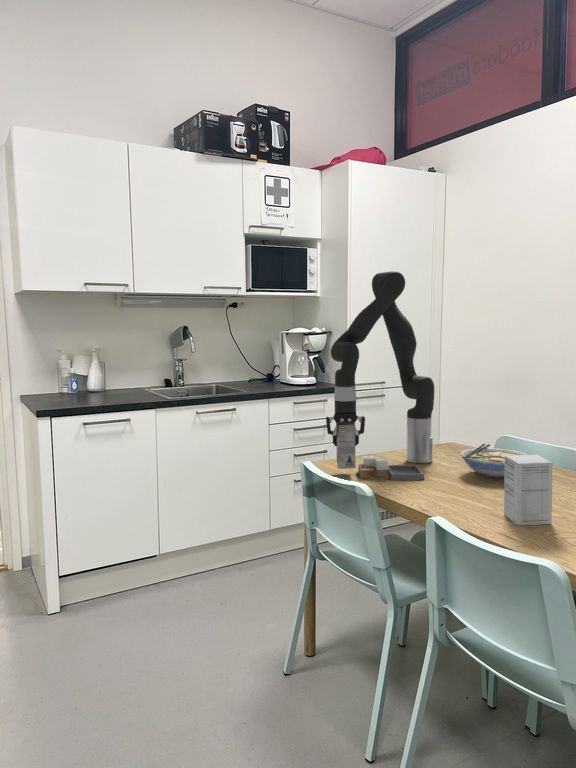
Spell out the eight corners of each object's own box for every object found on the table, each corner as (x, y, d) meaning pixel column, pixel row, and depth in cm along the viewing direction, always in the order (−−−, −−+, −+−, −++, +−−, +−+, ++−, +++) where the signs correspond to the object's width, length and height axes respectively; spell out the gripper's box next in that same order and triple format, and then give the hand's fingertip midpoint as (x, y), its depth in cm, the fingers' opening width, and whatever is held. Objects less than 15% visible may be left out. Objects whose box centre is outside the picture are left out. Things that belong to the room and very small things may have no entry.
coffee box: (336, 462, 208) (335, 419, 206) (353, 462, 207) (353, 418, 206) (337, 469, 198) (337, 423, 197) (356, 468, 198) (355, 423, 197)
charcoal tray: (416, 470, 209) (416, 464, 208) (424, 479, 196) (424, 474, 195) (386, 470, 209) (386, 465, 209) (391, 480, 196) (391, 474, 196)
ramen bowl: (517, 488, 183) (518, 463, 183) (449, 478, 197) (449, 455, 196) (537, 472, 203) (538, 449, 202) (474, 463, 217) (474, 442, 216)
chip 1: (373, 464, 207) (373, 455, 206) (374, 466, 203) (374, 458, 202) (362, 464, 207) (362, 456, 206) (363, 466, 203) (363, 458, 202)
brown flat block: (386, 471, 207) (386, 463, 207) (389, 478, 198) (389, 470, 198) (358, 472, 207) (358, 464, 207) (360, 478, 198) (360, 470, 198)
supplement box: (536, 513, 159) (537, 454, 158) (552, 524, 150) (554, 462, 149) (502, 514, 159) (503, 455, 157) (516, 525, 150) (518, 463, 148)
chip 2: (386, 466, 202) (386, 458, 202) (388, 469, 198) (388, 461, 198) (375, 467, 202) (375, 458, 202) (376, 469, 198) (376, 461, 198)
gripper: (364, 397, 204) (365, 443, 206) (324, 397, 204) (325, 443, 206) (366, 400, 196) (367, 447, 198) (325, 400, 197) (325, 448, 199)
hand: (345, 445), depth 202 cm, fingers closed on coffee box, 6 cm apart
